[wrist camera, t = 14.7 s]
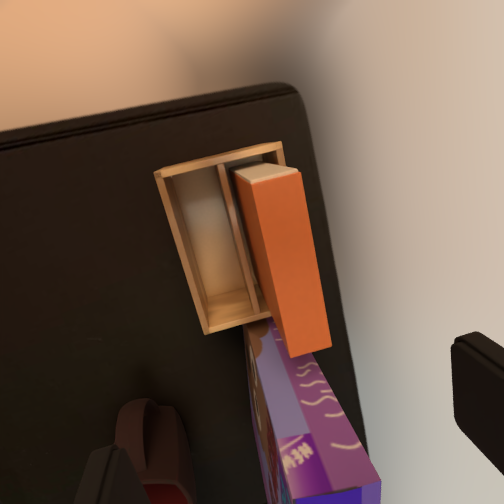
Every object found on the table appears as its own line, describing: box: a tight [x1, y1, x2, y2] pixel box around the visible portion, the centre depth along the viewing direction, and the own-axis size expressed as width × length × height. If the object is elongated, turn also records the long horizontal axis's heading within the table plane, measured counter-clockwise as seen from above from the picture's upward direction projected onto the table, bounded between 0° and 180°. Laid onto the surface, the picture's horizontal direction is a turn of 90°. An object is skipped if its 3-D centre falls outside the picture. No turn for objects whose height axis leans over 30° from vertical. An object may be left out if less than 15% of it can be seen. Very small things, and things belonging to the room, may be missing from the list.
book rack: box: [154, 141, 286, 335], centre depth 34 cm, size 11×15×8 cm
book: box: [229, 161, 332, 358], centre depth 29 cm, size 3×12×16 cm, turn 13°
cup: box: [114, 398, 197, 504], centre depth 37 cm, size 10×14×12 cm
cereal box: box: [243, 316, 381, 504], centre depth 31 cm, size 17×5×24 cm, turn 5°
